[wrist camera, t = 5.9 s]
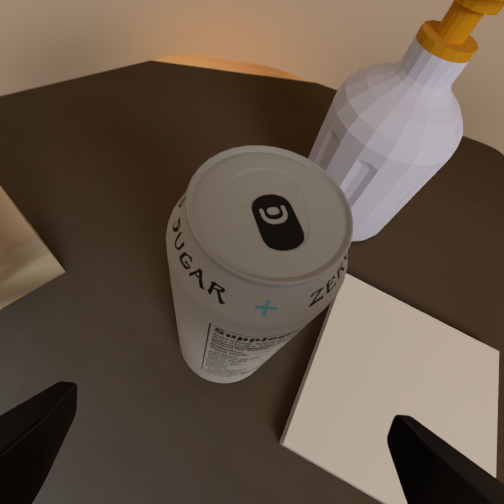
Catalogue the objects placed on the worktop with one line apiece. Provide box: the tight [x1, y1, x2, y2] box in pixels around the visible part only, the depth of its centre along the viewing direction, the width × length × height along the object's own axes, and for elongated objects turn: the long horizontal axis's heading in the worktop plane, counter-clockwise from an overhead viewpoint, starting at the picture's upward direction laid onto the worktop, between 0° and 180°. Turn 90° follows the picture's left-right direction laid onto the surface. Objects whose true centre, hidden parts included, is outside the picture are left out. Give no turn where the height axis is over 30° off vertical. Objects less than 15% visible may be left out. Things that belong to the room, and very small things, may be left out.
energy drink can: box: [166, 145, 353, 383], centre depth 15 cm, size 6×6×15 cm
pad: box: [279, 273, 499, 504], centre depth 21 cm, size 13×13×1 cm
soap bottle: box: [308, 0, 504, 241], centre depth 19 cm, size 9×9×25 cm
